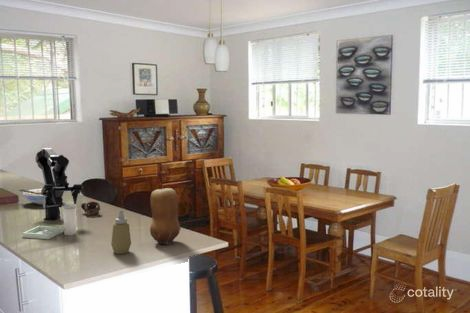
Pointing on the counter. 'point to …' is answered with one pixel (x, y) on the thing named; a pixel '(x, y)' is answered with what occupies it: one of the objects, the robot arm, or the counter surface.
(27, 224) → the counter surface
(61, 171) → the robot arm
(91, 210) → the pottery mug
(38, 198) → the ramen bowl
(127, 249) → the squeeze bottle
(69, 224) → the cylinder
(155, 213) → the butternut squash
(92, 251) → the counter surface
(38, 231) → the tray
